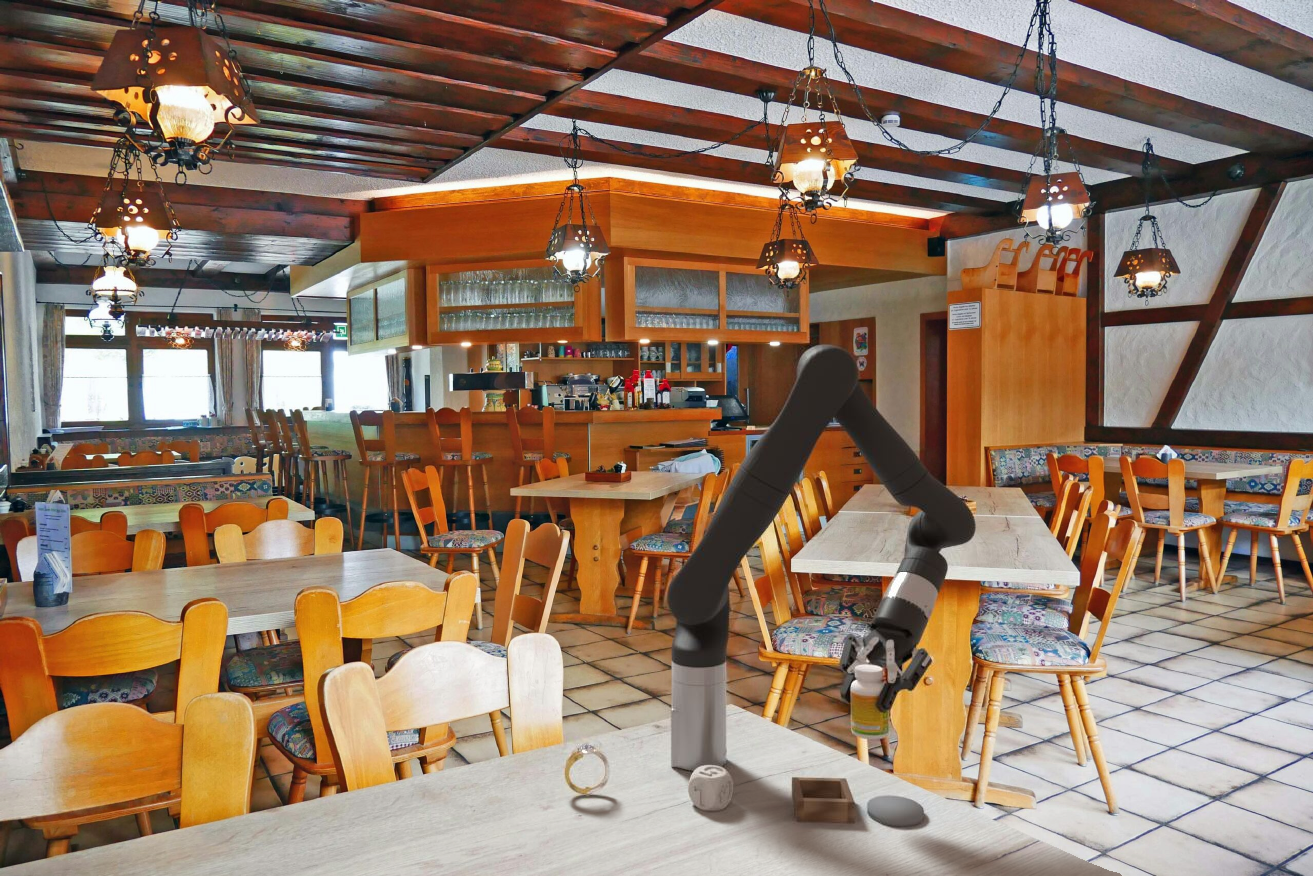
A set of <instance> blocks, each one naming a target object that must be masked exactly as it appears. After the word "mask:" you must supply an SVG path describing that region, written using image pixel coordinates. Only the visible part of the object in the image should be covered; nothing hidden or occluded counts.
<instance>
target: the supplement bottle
mask: <svg viewBox="0 0 1313 876" xmlns="http://www.w3.org/2000/svg"><path fill="white" fill-rule="evenodd" d="M855 677H856V678H857V680H855V681H853V682H852V684H851V703H850V729H851V733H852V734H853V736H855V737H858V738H861V739H863V740H881V739H885V738H886V737H887V736H888V735H889V731H890V729H889V728H890V727H889V726H890V725H889V724H890V723H889V722H890V721H889V717H890V716H889V710H887V712H886V713H883V712H880V711H879V710H878V708H877V707H876V702H877V700H878V698H879V696H880V693H881V691H882V689H883V686H884V684H885V683H886V682H885V681H883V679H884V668H881V667H879V666H876V665H869V664H866V665H858V666H856V667H855Z"/></svg>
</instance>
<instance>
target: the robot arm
mask: <svg viewBox="0 0 1313 876" xmlns="http://www.w3.org/2000/svg"><path fill="white" fill-rule="evenodd" d="M833 419H834V420H836V421H837V423H838V424H839V425H840V426H841V428H842V429H843V430H844V431H845V433H846V434H847V435H848V436H849V438H850V439H851V441H852V442H853V444H855V446H856V448H857V449H858V451H859V452H860V453H861V455H862V456H863V458H864V459H865V461H866V463H867V464H868V465H869V467H870V469H871V470H872V472H873V473H874V474H875V476H876V477H877V478H878V480H879V481H880V482H881V484H882V485H883V486H884V487H885V489H886V490H887V491H888V493H889V494H890V495H891V496H892V498H893V499H894V500H895V501H896V503H898V504H899V505H900V506H903V507H911V508H916V509H919V511H918V512H916V513H915V515H914V516H913V517H912V518H911V520H910V522H909V524H908V526H907V533H906V538H905V544H904V554H903V558H902V560H901V562H900V564H899V566H898V568H897V570H896V572H895V574H894V576H893V578H892V580H891V581H890V583H889V584H888V586H887V587H886V590H885V592H884V595H883V596H882V598H881V601H880V603H879V604H878V607H877V609H876V611H875V613H874V616H873V618H872V620H871V625H870V629H869V631H868V632H867V633H866V634H865V635H864V636H863V637H862V636H861V637H856V636H854V634H853V633H849V634H847V635H846V637H845V640H844V643H843V644H844V645H843V647H842V651H841V655H840V659H839V663H838V666H839V668H840V670H842V672H843V673H844V674H845V675H846V676H845V679H844V680H843V683H842V685H841V687H840V689H839V694H840V698H841V699H842V700H843V702H844V703H845V704H848V705H849V704H850V705H851V684H852V682H853V681H855V680H857V678H856V677H855V667H856V666H858V665H866V664H869V665H876V666H879V667H881V668H882V669H886V670H887V683H886V682H884V683H885V684H884V686H883V689H882V691H881V693H880V696H879V698H878V700H877V702H876V707H877V708H878V710H879V711H880V712H883V713H886V712H887V710H888V711H890V710H891V709H892V707H893V705H894V703H895V700H896V698H897V696H898V694H899V692H901V691H903V690H907V691H908V692H913V691H914V690H915V688H916V686H917V685H918V684H919V682H920V681H921V679H922V677H923V676H924V674H925V673H926V672H927V670H928V669H929V667H930V665H931V663H932V662H933V660H932V657H931V656H930V654H929V653H928V651H927V650H926V649H925V648H923V647H922V648H918V645H919V643H920V642H921V640H922V637H923V635H924V633H925V630H926V628H927V625H928V623H929V621H930V618H931V616H932V615H933V611H934V609H935V606H936V602H937V598H938V597H939V593H940V590H941V589H942V586H943V584H944V582H945V579H946V578H947V577H946V576H947V575H948V574H947V573H948V569H949V565H948V561H947V559H946V558H945V557H944V556H943V554H941V553H940V552H941V551H942V549H943V550H944V549H947V548H950V547H955V546H956V547H957V546H961V545H964V544H967V543H968V542H970V541H971V540H972V539H973V537H974V536H975V533H976V528H977V527H976V519H975V516H974V513H972V510H971V509H970V508H969V506H968V505H967V504H966V502H965V501H964V500H963V499H961V497H959V496H958V495H957V494H955V492H953V491H952V490H951V489H950V488H948V487H947V486H946V485H945V484H943V483H942V482H941V481H940V480H939V479H936V478H935V477H934V476H933V475H932V474H931V473H930V471H929V470H928V469H927V467H926V466H925V464H924V463H923V462H922V461H921V459H920V458H919V457H918V456H917V454H916V453H915V451H914V450H913V449H912V448H911V446H910V445H909V444H908V442H907V441H905V439H904V438H903V437H902V436H901V435H900V434H899V433H898V432H897V430H896V429H895V428H894V427H893V426H892V425H891V424H890V423H889V422H888V420H886V418H885V417H884V416H883V415H882V414H881V413H880V411H879V410H878V409H877V408H876V407H875V405H874V403H873V402H872V401H871V399H870V398H869V396H868V394H866V392H865V390H864V388H863V387H862V385H861V383H860V381H859V367H858V364H857V361H856V359H855V358H854V357H853V355H852V354H851V353H850V352H849V351H848V350H846V349H844V348H842V347H840V346H837V345H833V344H824V343H823V344H817V345H814V346H812V347H811V348H809V349H807V350H806V351H804V353H802V355H801V357H800V358H799V360H798V363H797V367H796V380H795V383H794V385H793V387H792V388H791V392H790V394H789V396H788V398H787V399H786V402H785V404H784V406H783V407H782V409H781V410H780V412H779V414H778V416H777V417H776V419H775V420H774V422H773V423H772V424H771V425H770V426H769V427H768V429H766V431H765V432H764V433H763V434H762V436H761V437H760V438H759V439H758V440H757V441H756V443H754V445H753V447H752V448H751V449H750V450H749V451H748V453H747V454H746V456H745V457H744V459H743V461H742V462H741V464H740V465H739V467H738V469H737V470H736V472H735V474H734V476H733V477H732V479H731V481H730V482H729V484H728V485H727V487H726V490H725V492H724V494H723V495H722V498H721V499H720V501H719V503H718V505H717V507H716V509H715V510H714V513H713V515H712V518H711V520H710V522H709V525H708V526H707V529H706V530H705V533H704V535H703V536H702V537H701V540H700V541H699V543H698V544H697V545H696V547H695V548H694V550H693V551H692V552H691V554H690V555H689V557H688V558H687V560H686V561H685V562H684V564H683V565H682V567H680V569H679V570H678V572H677V573H676V574H675V575H674V576H673V578H672V579H671V581H670V583H669V585H668V588H667V593H666V594H667V595H666V601H667V607H668V609H669V612H670V614H671V615H672V616H673V618H674V619H675V620H676V621H675V622H676V625H675V632H674V636H673V639H672V643H671V706H670V707H671V708H670V767H672V768H680V769H682V770H686V771H692V772H694V770H695V769H697V768H698V767H700V766H704V765H716V766H720V767H723V766H725V765H726V763H727V752H728V751H727V649H728V643H729V639H730V638H729V637H730V587H729V584H730V582H731V580H732V579H733V576H734V574H735V572H736V570H737V568H738V567H739V566H740V563H741V562H742V561H743V559H744V557H745V556H746V555H747V554H748V552H749V551H750V550H751V548H753V546H754V545H755V544H756V543H757V542H758V540H760V538H761V537H762V536H763V534H764V533H765V532H766V531H767V529H768V528H769V526H771V524H772V523H773V521H774V519H775V518H776V517H777V515H778V514H779V512H780V511H781V509H782V507H783V505H784V504H785V502H786V501H787V499H788V497H790V494H791V492H792V491H793V490H794V489H793V488H794V487H795V485H796V483H797V482H798V479H799V478H800V476H801V475H802V472H803V470H804V468H805V467H806V465H807V463H808V460H809V458H810V456H811V455H812V453H813V451H814V448H815V446H816V445H817V442H818V440H820V438H821V436H822V434H823V432H825V430H826V428H828V426H829V424H830V423H831V421H832V420H833ZM863 647H864V648H863ZM862 648H863V649H862ZM867 660H868V662H867ZM909 660H911V661H910V663H909V664H908V665H907V667H906V669H905V670H904V664H905V663H907V662H908V661H909Z"/></svg>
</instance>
